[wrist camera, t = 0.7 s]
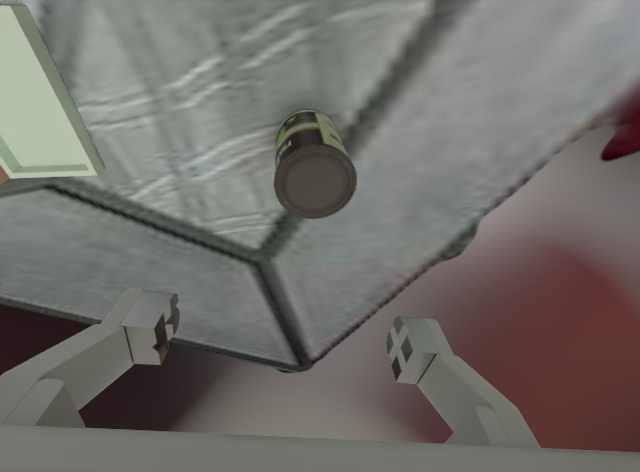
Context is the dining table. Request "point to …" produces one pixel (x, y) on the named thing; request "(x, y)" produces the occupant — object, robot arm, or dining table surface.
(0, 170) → the terracotta block
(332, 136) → the coffee can
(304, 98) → the dining table surface
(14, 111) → the tray
